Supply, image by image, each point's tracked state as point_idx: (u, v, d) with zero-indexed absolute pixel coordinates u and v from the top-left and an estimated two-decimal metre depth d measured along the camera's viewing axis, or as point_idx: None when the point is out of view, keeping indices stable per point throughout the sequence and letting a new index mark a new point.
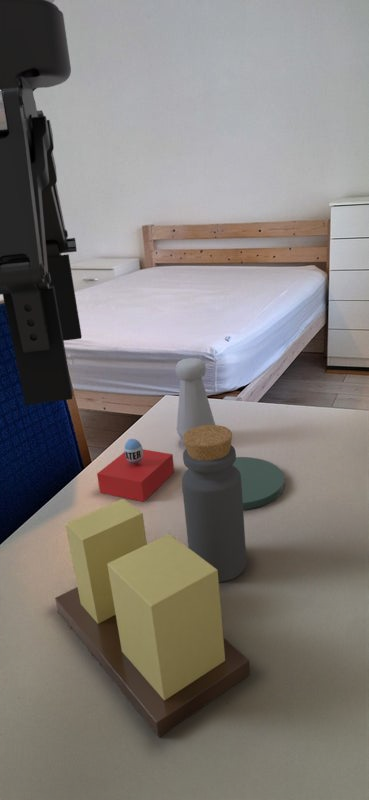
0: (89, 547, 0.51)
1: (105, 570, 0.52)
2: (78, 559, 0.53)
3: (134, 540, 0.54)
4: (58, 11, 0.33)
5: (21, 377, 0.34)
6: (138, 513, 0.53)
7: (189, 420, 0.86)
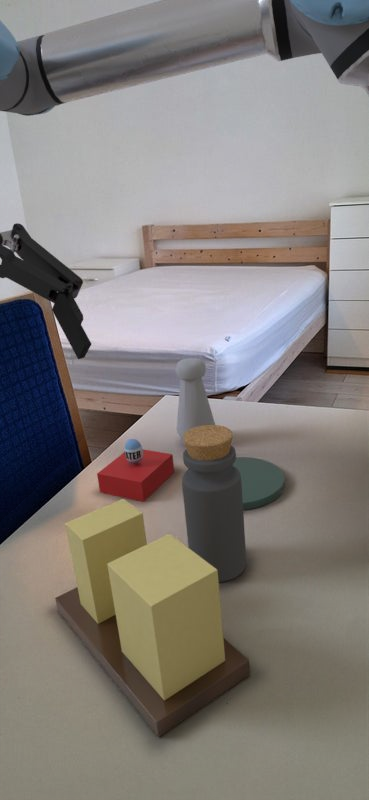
0: (89, 547, 0.51)
1: (105, 570, 0.52)
2: (78, 559, 0.53)
3: (134, 540, 0.54)
4: None
5: None
6: (138, 513, 0.53)
7: (189, 420, 0.86)
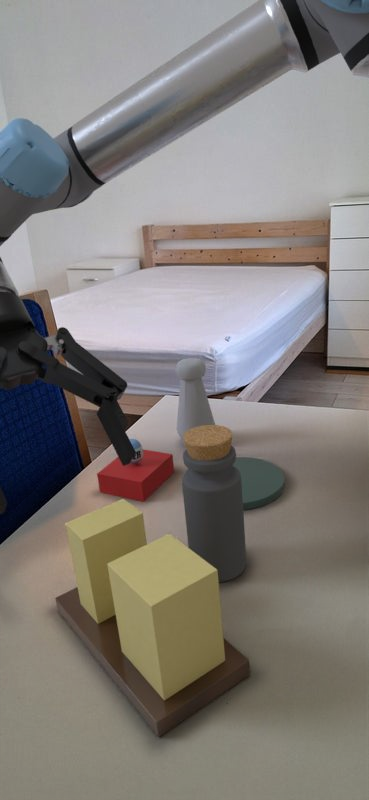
0: (89, 547, 0.51)
1: (105, 570, 0.52)
2: (78, 559, 0.53)
3: (134, 540, 0.54)
4: None
5: None
6: (138, 513, 0.53)
7: (189, 420, 0.86)
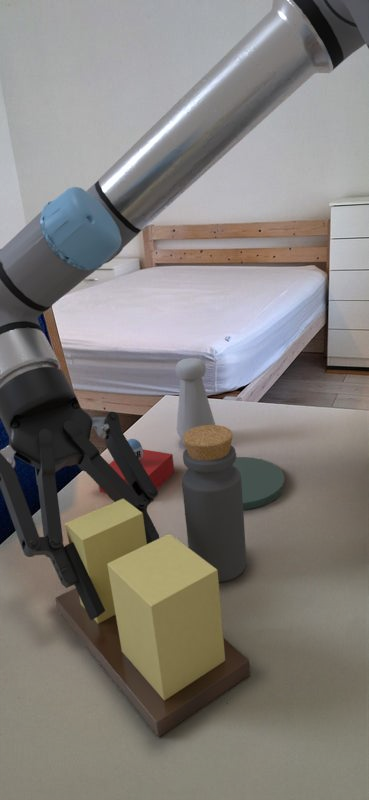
0: (89, 547, 0.51)
1: (105, 570, 0.53)
2: None
3: (134, 540, 0.54)
4: (24, 375, 0.56)
5: (82, 602, 0.53)
6: (138, 513, 0.53)
7: (189, 420, 0.86)
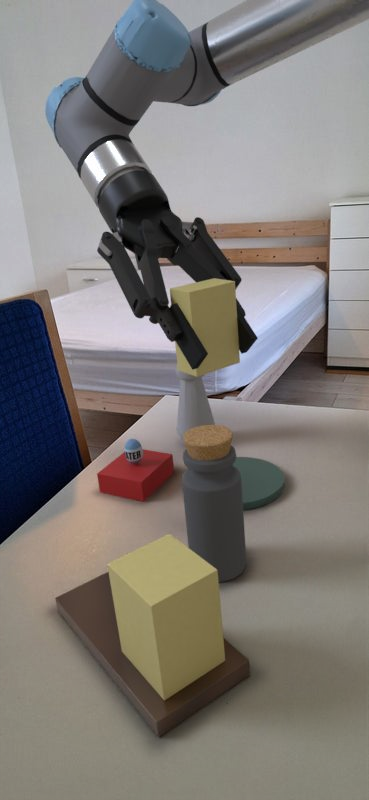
0: (194, 300, 0.60)
1: (204, 327, 0.62)
2: None
3: (227, 305, 0.63)
4: (128, 173, 0.65)
5: (185, 356, 0.62)
6: (231, 281, 0.62)
7: (189, 420, 0.86)
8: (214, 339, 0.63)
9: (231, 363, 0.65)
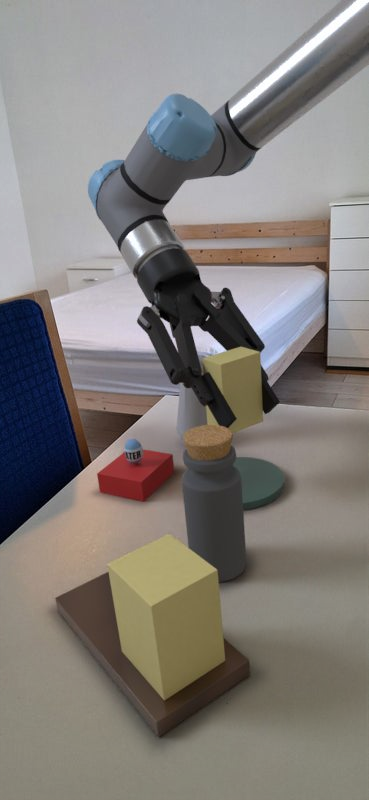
0: (224, 371, 0.68)
1: (233, 393, 0.70)
2: None
3: (253, 373, 0.71)
4: (164, 252, 0.73)
5: (215, 418, 0.70)
6: (257, 352, 0.70)
7: (189, 420, 0.86)
8: (241, 403, 0.71)
9: (255, 422, 0.73)
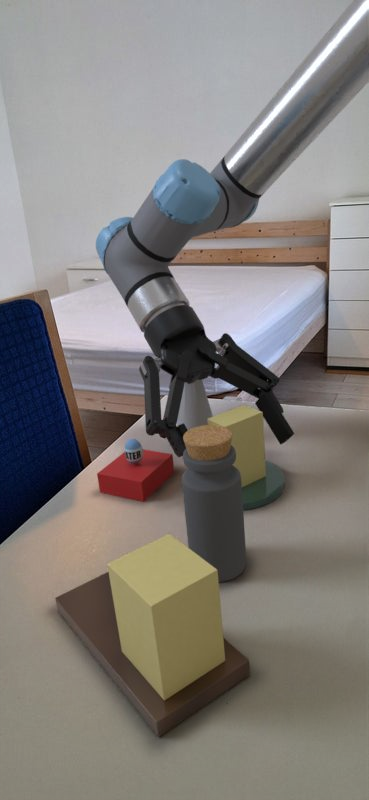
0: None
1: (237, 452, 0.72)
2: None
3: (256, 432, 0.73)
4: (170, 310, 0.76)
5: None
6: (259, 412, 0.73)
7: (189, 420, 0.86)
8: (245, 460, 0.74)
9: (258, 478, 0.76)
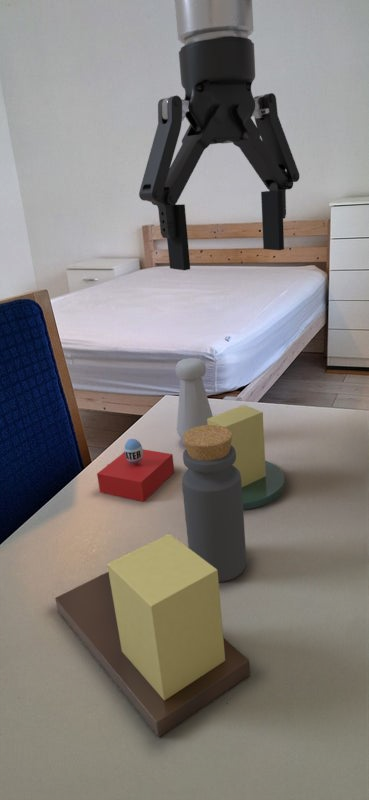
0: None
1: (237, 452, 0.72)
2: None
3: (256, 432, 0.73)
4: (230, 41, 0.56)
5: (169, 252, 0.64)
6: (259, 412, 0.73)
7: (189, 420, 0.86)
8: (245, 460, 0.74)
9: (258, 478, 0.76)
